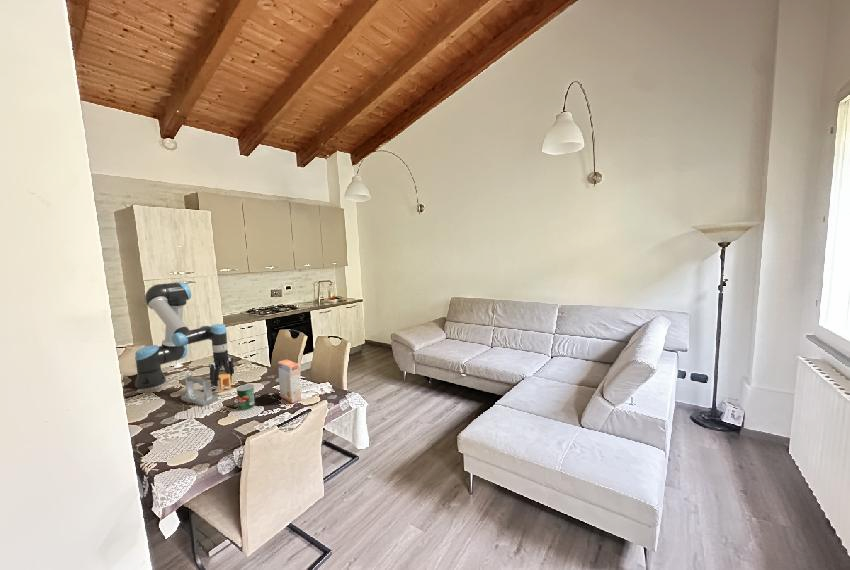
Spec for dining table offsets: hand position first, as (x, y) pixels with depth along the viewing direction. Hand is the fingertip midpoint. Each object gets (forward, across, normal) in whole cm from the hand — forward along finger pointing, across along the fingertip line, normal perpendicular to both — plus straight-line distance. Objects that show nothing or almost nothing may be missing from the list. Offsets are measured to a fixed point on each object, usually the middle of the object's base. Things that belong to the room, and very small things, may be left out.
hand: (223, 388), depth 203 cm
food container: (+2, +9, +11) cm, 14 cm away
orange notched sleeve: (-1, 0, 0) cm, 1 cm away
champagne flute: (+2, +15, +72) cm, 74 cm away
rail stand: (+2, -13, +2) cm, 13 cm away
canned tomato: (+2, -8, -30) cm, 31 cm away
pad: (+2, 0, 0) cm, 2 cm away
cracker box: (+2, +9, -44) cm, 45 cm away
